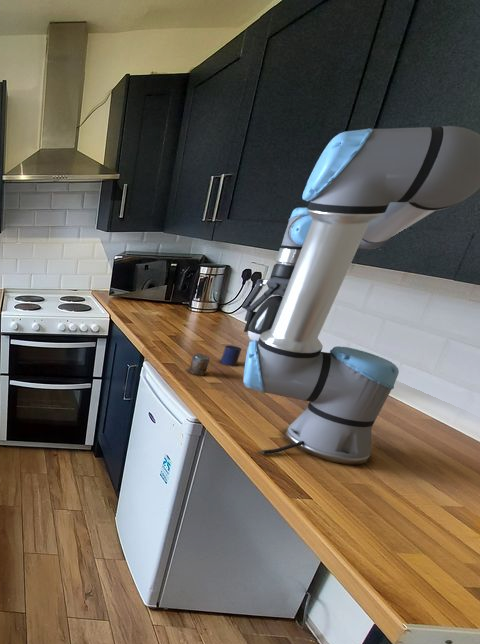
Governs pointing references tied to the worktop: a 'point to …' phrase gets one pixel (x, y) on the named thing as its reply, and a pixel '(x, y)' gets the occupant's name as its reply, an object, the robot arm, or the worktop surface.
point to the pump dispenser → (264, 317)
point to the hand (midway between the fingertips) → (264, 335)
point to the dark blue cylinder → (230, 355)
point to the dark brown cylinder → (199, 364)
